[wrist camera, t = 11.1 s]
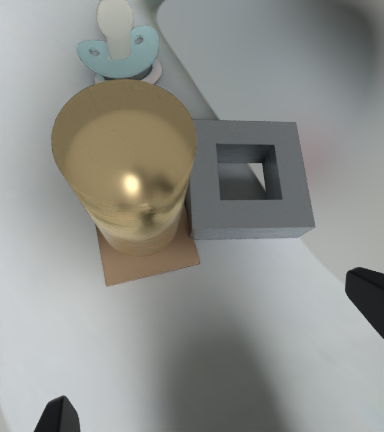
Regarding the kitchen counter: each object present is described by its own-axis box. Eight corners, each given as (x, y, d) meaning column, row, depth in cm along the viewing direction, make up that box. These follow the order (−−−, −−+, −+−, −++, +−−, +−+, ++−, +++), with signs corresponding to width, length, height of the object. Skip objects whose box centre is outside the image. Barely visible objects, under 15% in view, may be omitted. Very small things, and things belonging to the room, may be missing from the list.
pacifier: (174, 85, 29) (148, 38, 30) (179, 27, 23) (147, -29, 24) (100, 108, 27) (76, 57, 28) (85, 52, 21) (56, -9, 23)
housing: (297, 237, 25) (315, 227, 22) (188, 239, 24) (192, 229, 21) (282, 142, 28) (296, 122, 25) (184, 140, 27) (187, 119, 24)
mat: (199, 263, 23) (200, 262, 23) (107, 286, 22) (106, 285, 22) (177, 182, 25) (177, 180, 25) (92, 199, 24) (90, 197, 24)
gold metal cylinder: (189, 240, 23) (224, 158, 11) (130, 278, 22) (97, 231, 10) (153, 187, 24) (149, 60, 12) (94, 220, 23) (25, 114, 11)
